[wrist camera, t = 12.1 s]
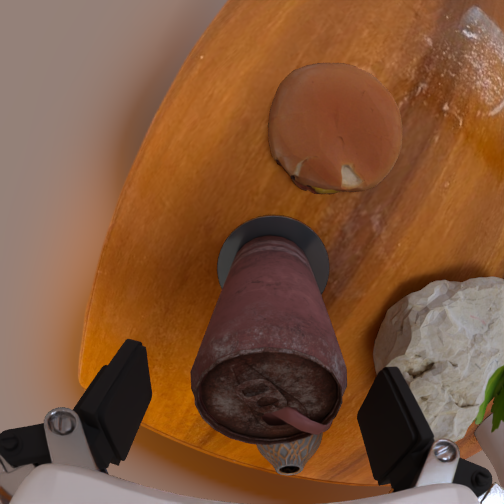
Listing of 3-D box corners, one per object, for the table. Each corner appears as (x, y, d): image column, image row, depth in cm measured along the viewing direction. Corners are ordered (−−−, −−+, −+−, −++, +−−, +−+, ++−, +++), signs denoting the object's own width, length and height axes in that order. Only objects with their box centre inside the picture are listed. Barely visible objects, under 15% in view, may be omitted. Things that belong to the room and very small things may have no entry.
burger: (355, 60, 17) (374, 39, 13) (405, 164, 19) (434, 165, 15) (243, 103, 19) (236, 87, 14) (298, 211, 21) (305, 224, 17)
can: (289, 317, 23) (302, 461, 10) (220, 287, 23) (168, 422, 10) (325, 255, 22) (390, 377, 8) (251, 220, 21) (219, 314, 8)
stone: (506, 243, 18) (568, 384, 7) (480, 303, 24) (515, 416, 14) (361, 285, 22) (392, 472, 11) (364, 338, 28) (380, 468, 18)
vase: (306, 425, 28) (311, 485, 20) (250, 418, 28) (243, 480, 20) (328, 388, 26) (341, 454, 18) (264, 378, 26) (260, 448, 18)
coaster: (214, 311, 24) (213, 313, 24) (223, 207, 21) (222, 208, 21) (316, 323, 24) (316, 326, 23) (338, 223, 21) (339, 224, 21)
